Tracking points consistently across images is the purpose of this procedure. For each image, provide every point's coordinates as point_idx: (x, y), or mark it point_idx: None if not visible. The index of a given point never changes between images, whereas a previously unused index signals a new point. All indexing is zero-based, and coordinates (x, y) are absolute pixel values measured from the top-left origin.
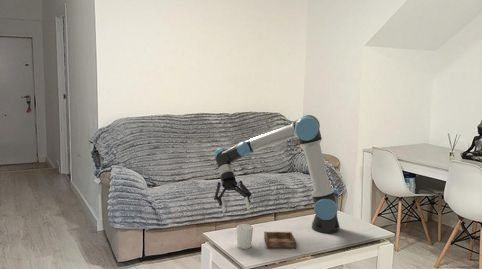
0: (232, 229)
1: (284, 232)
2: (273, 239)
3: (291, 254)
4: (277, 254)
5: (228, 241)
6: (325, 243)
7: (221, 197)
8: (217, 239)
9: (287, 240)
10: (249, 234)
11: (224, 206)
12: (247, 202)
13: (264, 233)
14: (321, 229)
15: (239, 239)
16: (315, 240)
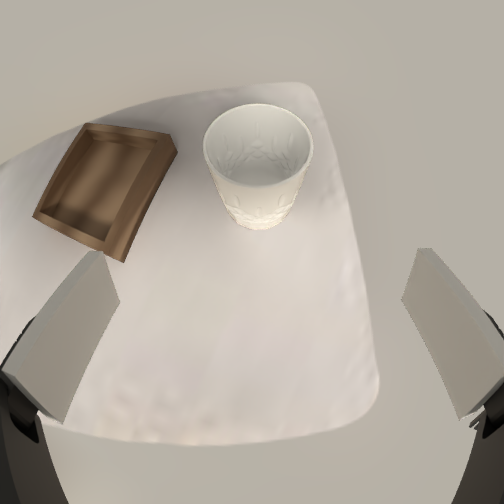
0: (222, 436)
1: (49, 220)
2: (106, 213)
3: (136, 106)
4: (174, 109)
5: (311, 279)
6: (17, 169)
7: (464, 472)
8: (355, 321)
9: (73, 191)
10: (246, 127)
11: (443, 274)
12: (66, 302)
13: (113, 249)
14: None
15: (293, 165)
16: (16, 194)
